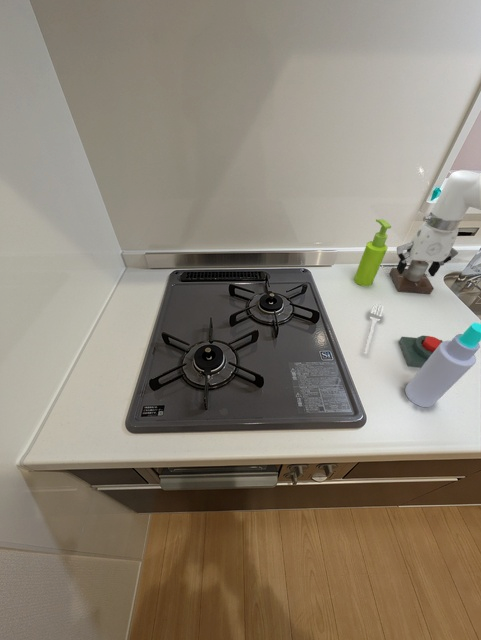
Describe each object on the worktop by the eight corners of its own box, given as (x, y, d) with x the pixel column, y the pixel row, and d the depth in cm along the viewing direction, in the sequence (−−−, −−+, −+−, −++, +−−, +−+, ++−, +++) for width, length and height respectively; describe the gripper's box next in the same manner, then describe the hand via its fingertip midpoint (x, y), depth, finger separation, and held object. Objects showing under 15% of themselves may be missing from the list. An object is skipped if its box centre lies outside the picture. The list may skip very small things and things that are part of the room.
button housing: (437, 345, 73) (445, 335, 70) (450, 370, 67) (459, 360, 64) (398, 341, 73) (404, 331, 70) (407, 366, 68) (415, 356, 65)
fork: (358, 352, 71) (360, 348, 70) (371, 307, 84) (373, 302, 82) (371, 357, 70) (373, 352, 69) (382, 310, 83) (385, 305, 81)
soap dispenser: (366, 273, 95) (388, 217, 81) (375, 285, 90) (401, 228, 76) (350, 274, 95) (369, 218, 81) (358, 287, 90) (381, 229, 76)
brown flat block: (419, 275, 95) (422, 269, 93) (430, 294, 88) (434, 287, 86) (389, 273, 96) (392, 267, 94) (397, 291, 88) (401, 285, 87)
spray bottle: (404, 401, 61) (461, 334, 45) (404, 380, 65) (457, 311, 49) (434, 412, 59) (504, 346, 44) (433, 389, 63) (497, 321, 48)
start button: (435, 341, 69) (438, 336, 68) (440, 352, 66) (444, 348, 65) (420, 340, 69) (423, 335, 68) (425, 351, 66) (428, 346, 65)
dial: (422, 282, 88) (431, 266, 84) (406, 281, 88) (415, 265, 84) (417, 273, 91) (425, 258, 87) (402, 272, 92) (410, 257, 88)
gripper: (415, 225, 74) (390, 277, 86) (482, 229, 73) (447, 281, 85) (406, 213, 80) (383, 264, 92) (469, 217, 79) (438, 268, 91)
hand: (414, 272), depth 89 cm, fingers open, 9 cm apart
